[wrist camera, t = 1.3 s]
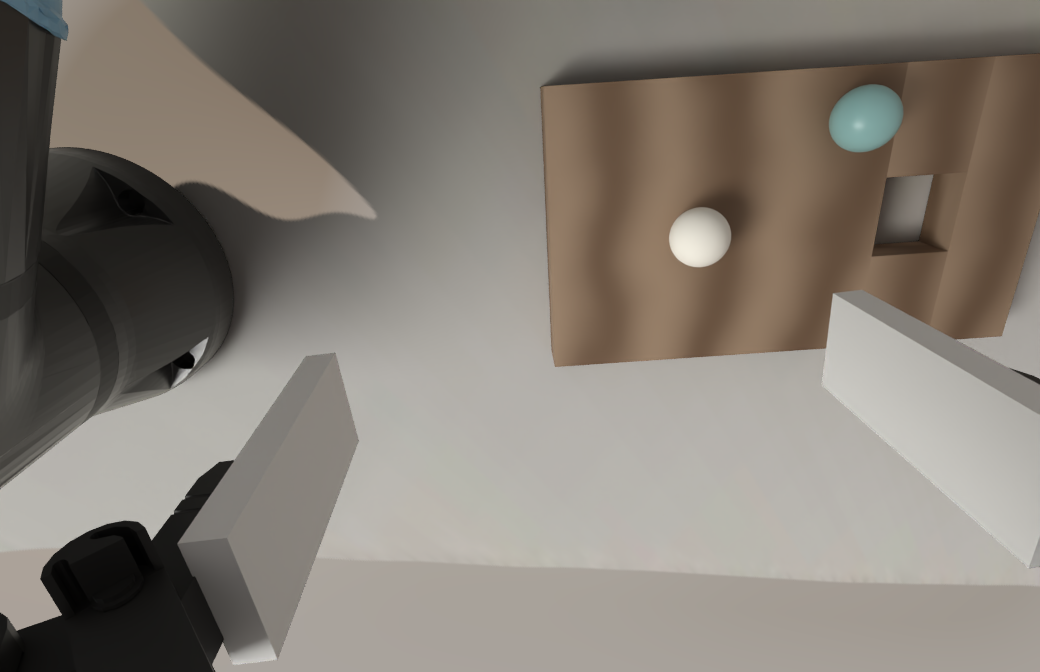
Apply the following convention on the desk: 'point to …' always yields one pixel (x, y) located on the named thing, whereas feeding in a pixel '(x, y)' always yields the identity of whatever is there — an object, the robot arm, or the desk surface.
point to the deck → (782, 206)
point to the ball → (700, 237)
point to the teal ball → (866, 118)
